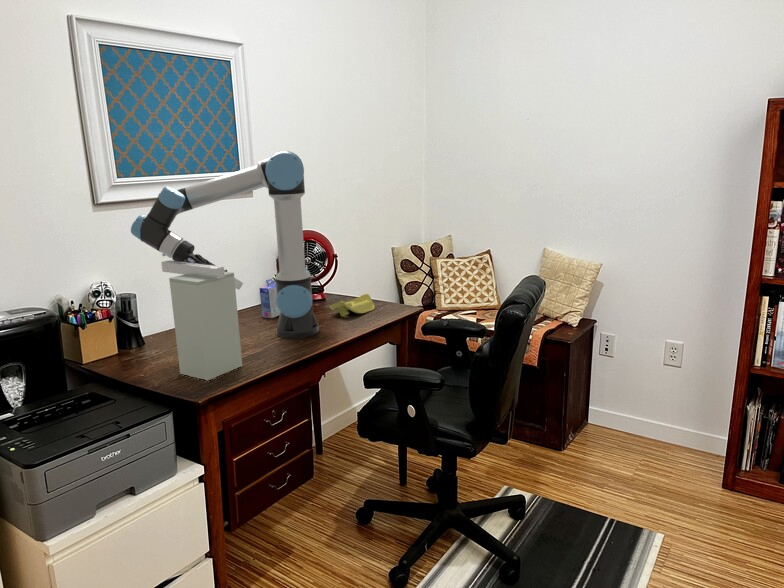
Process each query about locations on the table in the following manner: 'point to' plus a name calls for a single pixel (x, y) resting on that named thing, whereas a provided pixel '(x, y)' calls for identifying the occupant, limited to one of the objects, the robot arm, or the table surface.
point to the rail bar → (193, 269)
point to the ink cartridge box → (269, 300)
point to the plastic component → (355, 305)
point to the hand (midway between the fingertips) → (238, 286)
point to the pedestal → (206, 325)
